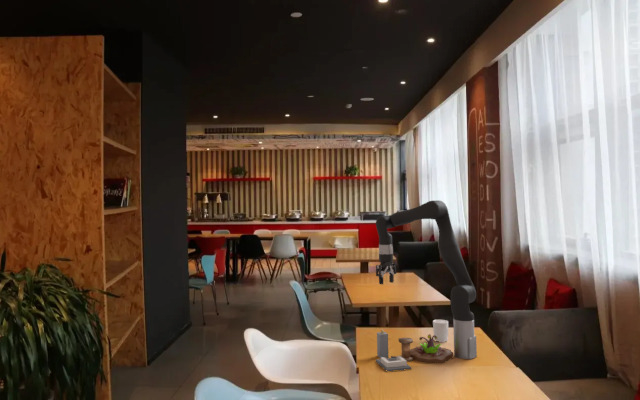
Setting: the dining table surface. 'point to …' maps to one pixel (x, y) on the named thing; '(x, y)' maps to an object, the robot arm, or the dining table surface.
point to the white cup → (440, 330)
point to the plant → (431, 352)
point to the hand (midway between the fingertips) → (386, 283)
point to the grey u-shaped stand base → (393, 363)
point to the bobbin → (405, 348)
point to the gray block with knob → (382, 344)
